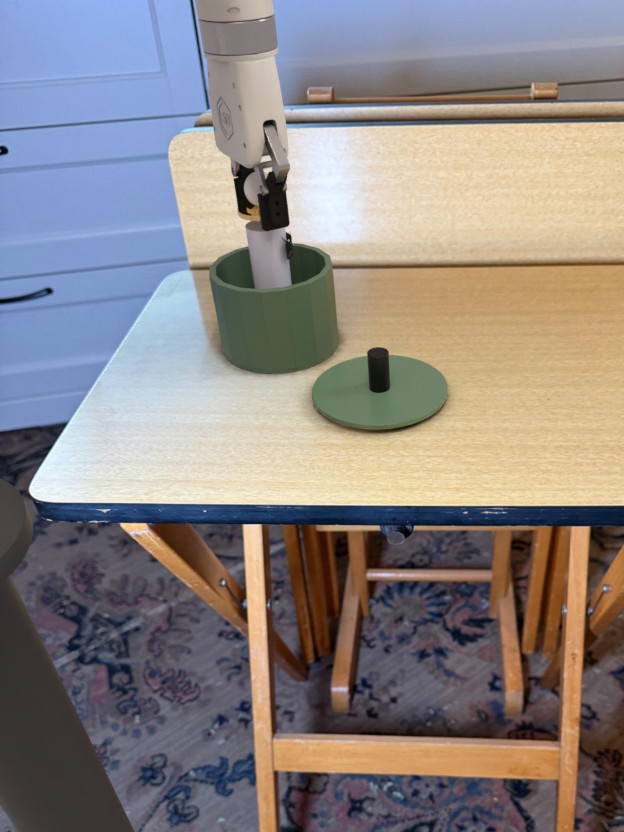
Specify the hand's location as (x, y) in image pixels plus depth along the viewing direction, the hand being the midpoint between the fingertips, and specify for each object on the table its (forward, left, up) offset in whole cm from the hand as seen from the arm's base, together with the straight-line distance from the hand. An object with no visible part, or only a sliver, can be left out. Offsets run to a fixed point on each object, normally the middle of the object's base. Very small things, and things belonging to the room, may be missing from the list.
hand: (263, 218), depth 92 cm
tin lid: (+4, -18, -16) cm, 24 cm away
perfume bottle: (0, 0, -15) cm, 15 cm away
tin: (0, 0, -16) cm, 16 cm away
